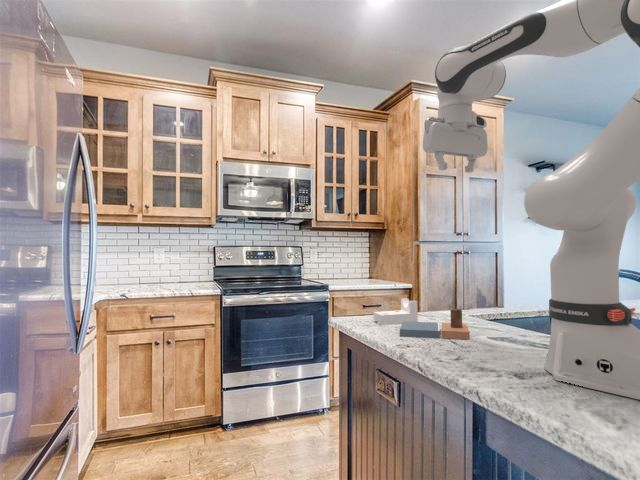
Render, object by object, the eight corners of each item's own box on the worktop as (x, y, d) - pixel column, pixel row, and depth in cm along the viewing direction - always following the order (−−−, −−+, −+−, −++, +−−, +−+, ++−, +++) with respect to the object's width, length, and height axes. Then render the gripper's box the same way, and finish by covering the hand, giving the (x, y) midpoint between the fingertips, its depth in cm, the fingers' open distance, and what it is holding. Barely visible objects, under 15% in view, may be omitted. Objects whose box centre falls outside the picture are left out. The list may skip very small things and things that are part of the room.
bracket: (408, 319, 134) (407, 298, 134) (417, 323, 127) (417, 301, 127) (373, 322, 131) (373, 300, 131) (381, 326, 124) (380, 303, 124)
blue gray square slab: (399, 336, 108) (399, 328, 108) (403, 327, 120) (403, 321, 120) (440, 338, 105) (440, 330, 105) (439, 329, 117) (439, 322, 117)
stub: (442, 338, 105) (441, 312, 105) (441, 329, 116) (441, 306, 117) (469, 339, 103) (468, 313, 103) (466, 330, 114) (465, 306, 115)
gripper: (433, 111, 96) (434, 165, 96) (491, 121, 105) (492, 171, 105) (416, 119, 102) (418, 170, 102) (473, 128, 111) (474, 175, 110)
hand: (456, 171), depth 103 cm, fingers open, 8 cm apart
